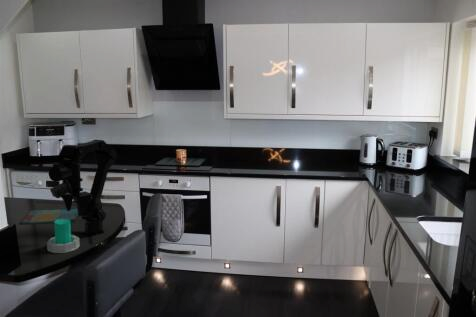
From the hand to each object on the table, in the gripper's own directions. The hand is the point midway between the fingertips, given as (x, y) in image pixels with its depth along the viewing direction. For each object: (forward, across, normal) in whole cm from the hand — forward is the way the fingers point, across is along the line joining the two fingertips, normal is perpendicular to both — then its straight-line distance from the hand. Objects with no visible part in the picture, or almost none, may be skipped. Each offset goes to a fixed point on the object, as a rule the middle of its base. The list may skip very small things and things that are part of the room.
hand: (74, 213), depth 161 cm
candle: (+13, 0, -5) cm, 14 cm away
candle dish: (+13, 0, -5) cm, 14 cm away
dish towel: (+14, -38, +8) cm, 41 cm away
